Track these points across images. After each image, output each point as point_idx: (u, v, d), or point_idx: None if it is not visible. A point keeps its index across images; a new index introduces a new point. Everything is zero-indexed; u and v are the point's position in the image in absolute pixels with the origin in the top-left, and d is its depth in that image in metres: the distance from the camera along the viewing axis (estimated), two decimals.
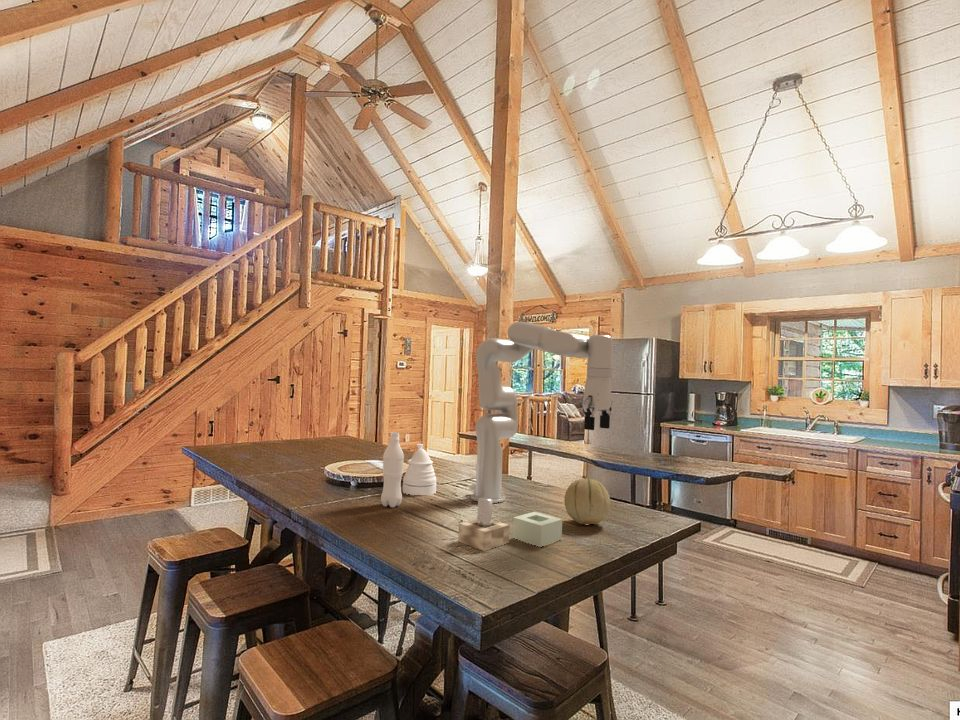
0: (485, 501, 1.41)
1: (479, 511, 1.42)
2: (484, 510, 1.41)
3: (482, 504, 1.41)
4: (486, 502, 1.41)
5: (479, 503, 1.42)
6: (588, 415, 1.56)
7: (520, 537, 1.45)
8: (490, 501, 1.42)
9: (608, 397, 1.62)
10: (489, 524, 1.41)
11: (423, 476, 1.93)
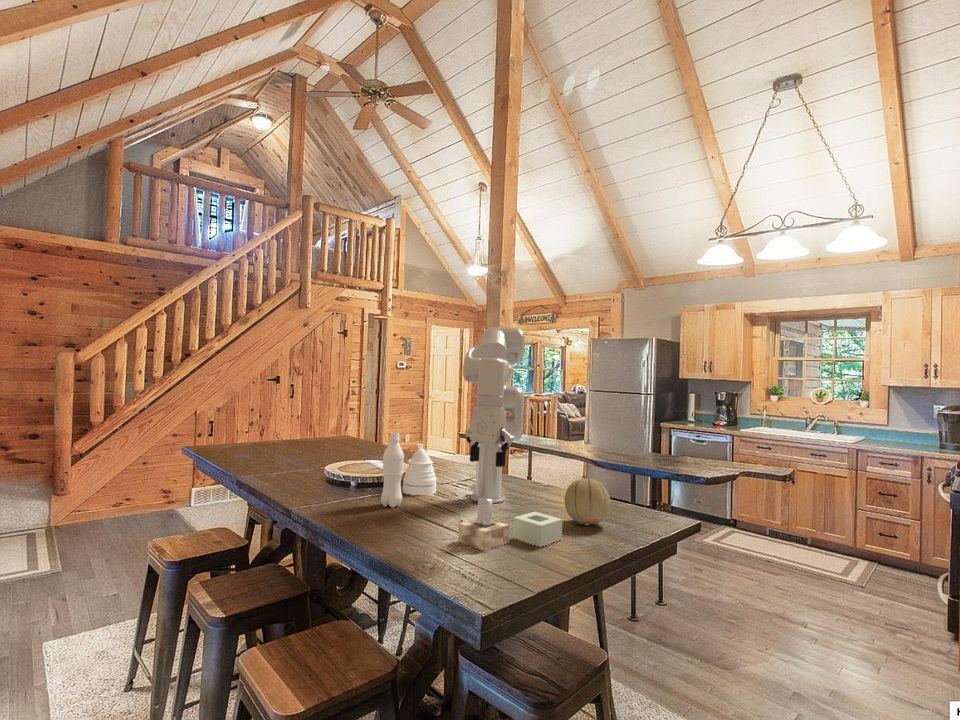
0: (485, 501, 1.41)
1: (479, 511, 1.42)
2: (484, 510, 1.41)
3: (482, 504, 1.41)
4: (486, 502, 1.41)
5: (479, 503, 1.42)
6: (505, 450, 1.39)
7: (520, 537, 1.45)
8: (490, 501, 1.42)
9: None
10: (489, 524, 1.41)
11: (423, 476, 1.93)
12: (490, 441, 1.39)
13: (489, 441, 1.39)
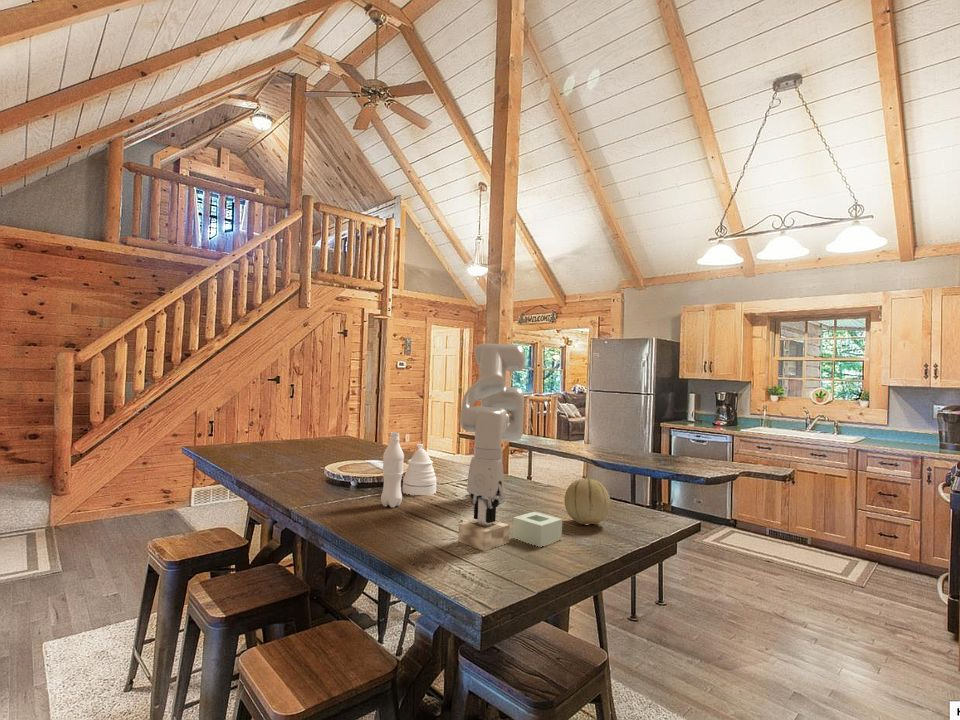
0: (485, 501, 1.41)
1: (479, 511, 1.42)
2: (484, 510, 1.41)
3: (482, 504, 1.41)
4: (486, 502, 1.41)
5: (479, 503, 1.42)
6: (495, 507, 1.41)
7: (520, 537, 1.45)
8: None
9: None
10: (489, 524, 1.41)
11: (423, 476, 1.93)
12: (488, 495, 1.39)
13: (487, 495, 1.39)
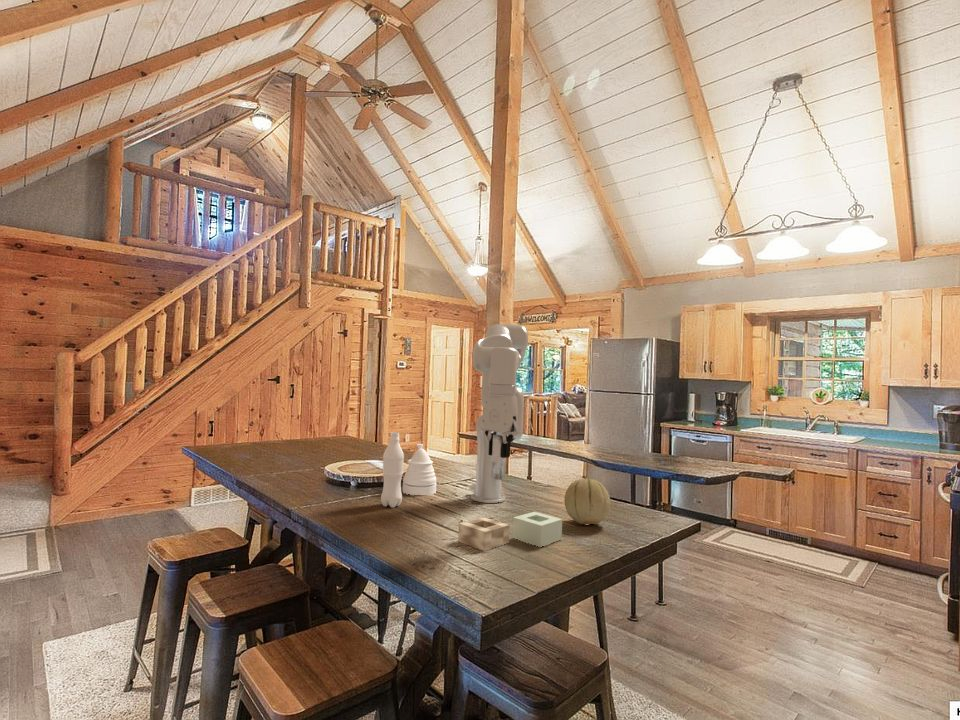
0: (500, 436, 1.43)
1: (494, 447, 1.43)
2: (498, 445, 1.42)
3: (496, 440, 1.43)
4: (501, 437, 1.43)
5: (494, 439, 1.43)
6: (510, 443, 1.42)
7: (520, 537, 1.45)
8: None
9: None
10: (503, 459, 1.43)
11: (423, 476, 1.93)
12: (502, 430, 1.40)
13: (501, 429, 1.40)
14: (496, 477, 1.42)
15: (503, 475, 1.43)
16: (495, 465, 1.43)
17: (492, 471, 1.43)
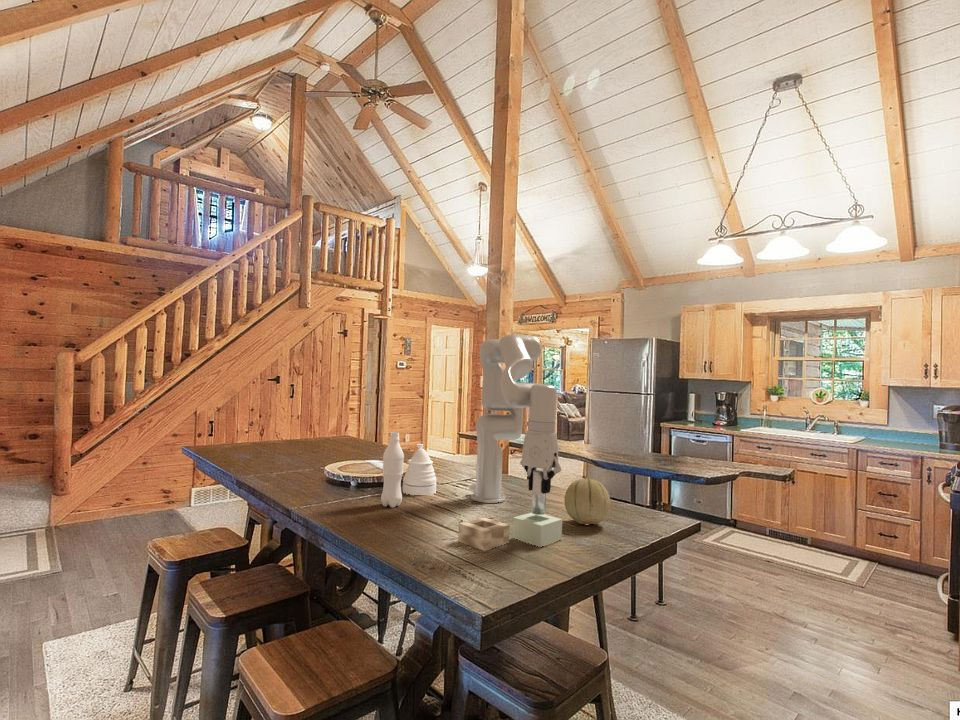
0: (540, 472, 1.46)
1: (534, 482, 1.47)
2: (539, 481, 1.46)
3: (537, 476, 1.46)
4: (541, 473, 1.46)
5: (534, 475, 1.47)
6: (550, 479, 1.46)
7: (520, 537, 1.45)
8: None
9: None
10: (544, 495, 1.46)
11: (423, 476, 1.93)
12: (544, 466, 1.44)
13: (543, 466, 1.44)
14: (537, 512, 1.46)
15: (544, 510, 1.46)
16: (536, 500, 1.46)
17: (533, 506, 1.47)
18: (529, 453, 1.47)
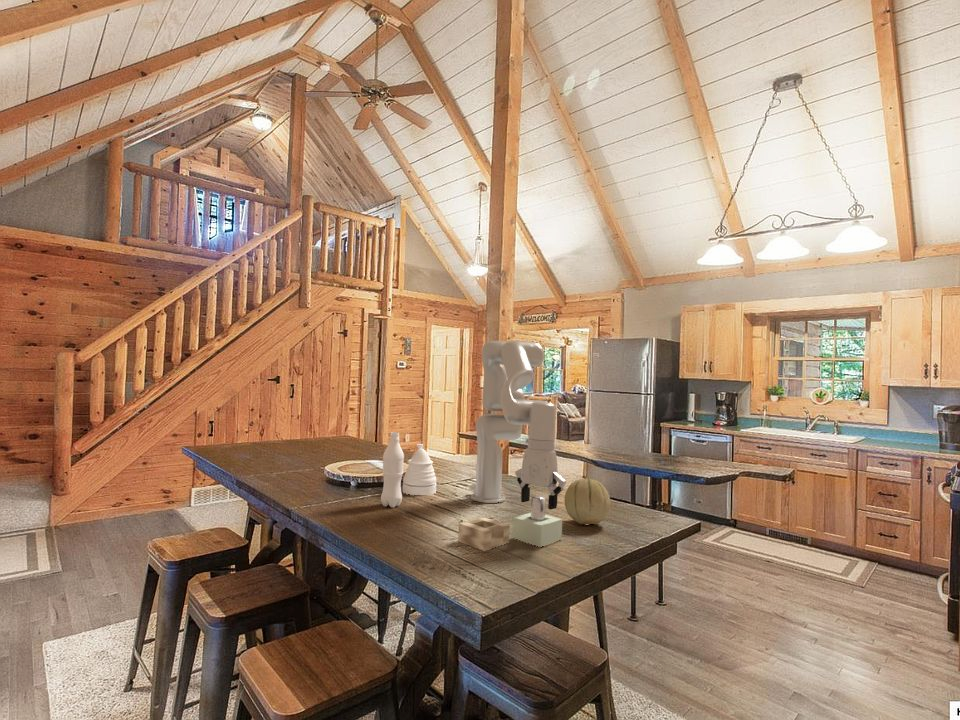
0: (539, 499, 1.46)
1: (533, 509, 1.46)
2: (538, 508, 1.46)
3: (536, 503, 1.46)
4: (540, 500, 1.46)
5: (533, 501, 1.47)
6: (557, 493, 1.44)
7: (520, 537, 1.45)
8: (544, 499, 1.46)
9: None
10: None
11: (423, 476, 1.93)
12: (543, 485, 1.43)
13: (542, 484, 1.44)
14: None
15: None
16: None
17: None
18: (528, 471, 1.47)
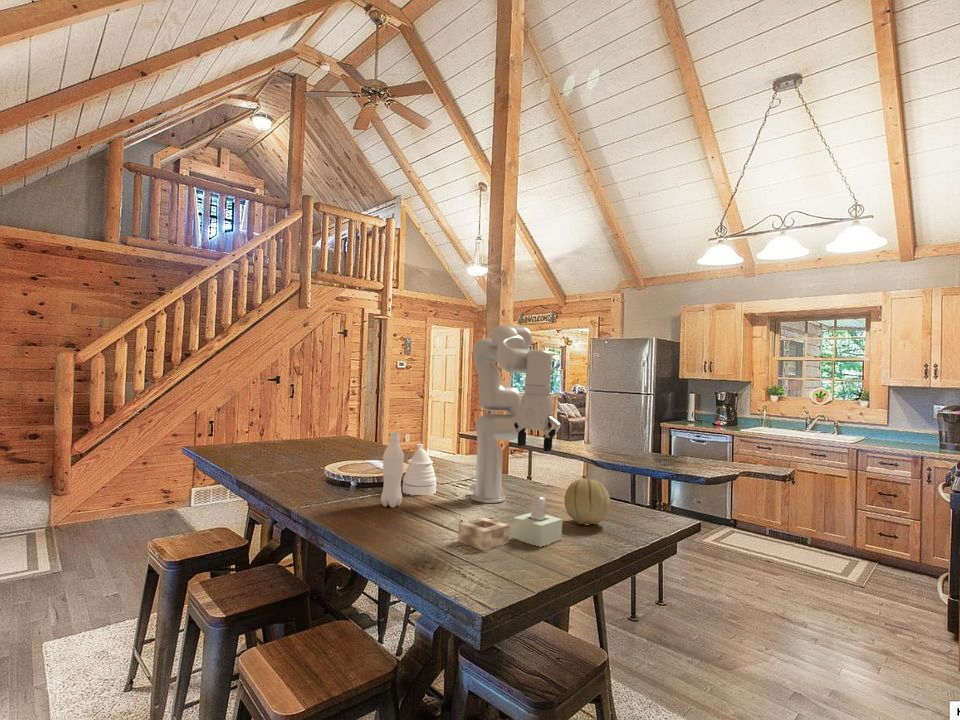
0: (539, 499, 1.46)
1: (533, 509, 1.46)
2: (538, 508, 1.46)
3: (536, 503, 1.46)
4: (540, 500, 1.46)
5: (533, 501, 1.47)
6: (552, 436, 1.50)
7: (520, 537, 1.45)
8: (544, 499, 1.46)
9: None
10: None
11: (423, 476, 1.93)
12: (539, 428, 1.50)
13: (537, 427, 1.50)
14: None
15: None
16: None
17: None
18: (525, 415, 1.54)
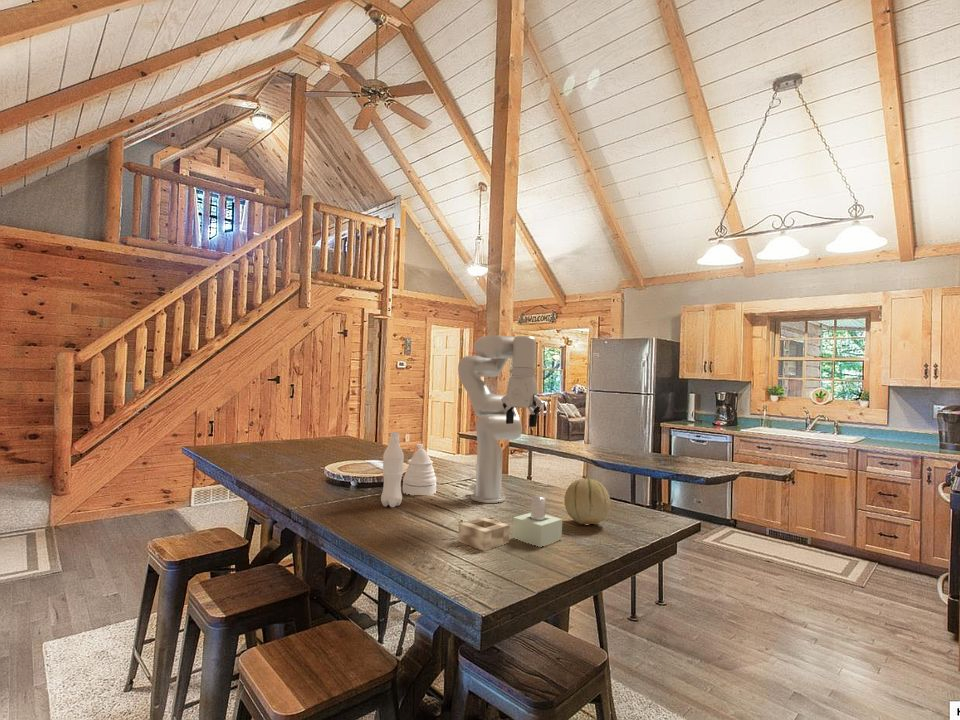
0: (539, 499, 1.46)
1: (533, 509, 1.46)
2: (538, 508, 1.46)
3: (536, 503, 1.46)
4: (540, 500, 1.46)
5: (533, 501, 1.47)
6: (537, 413, 1.66)
7: (520, 537, 1.45)
8: (544, 499, 1.46)
9: None
10: None
11: (423, 476, 1.93)
12: (524, 405, 1.66)
13: (523, 405, 1.66)
14: None
15: None
16: None
17: None
18: (512, 395, 1.70)
